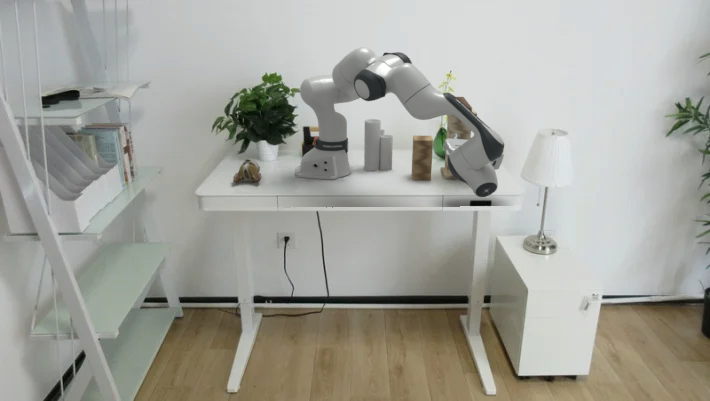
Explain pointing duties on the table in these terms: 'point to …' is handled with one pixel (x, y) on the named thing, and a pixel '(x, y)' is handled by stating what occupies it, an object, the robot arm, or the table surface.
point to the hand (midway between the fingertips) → (469, 136)
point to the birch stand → (453, 127)
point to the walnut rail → (464, 102)
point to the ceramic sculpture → (248, 172)
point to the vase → (377, 147)
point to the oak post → (422, 157)
